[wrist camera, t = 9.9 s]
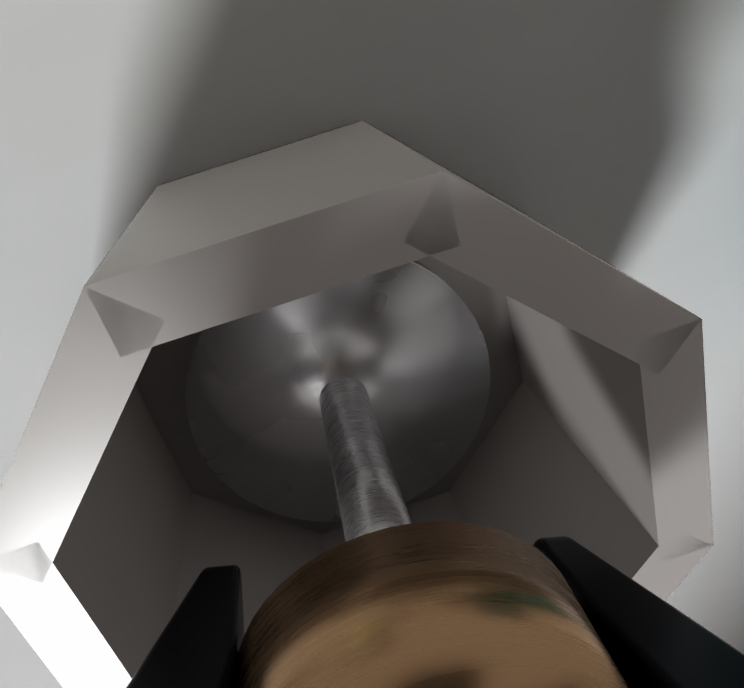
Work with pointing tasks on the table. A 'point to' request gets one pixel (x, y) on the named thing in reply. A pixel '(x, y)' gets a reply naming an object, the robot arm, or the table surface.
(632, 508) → the grey octagonal hollow piece
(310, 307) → the coffee tamper
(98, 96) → the table surface
